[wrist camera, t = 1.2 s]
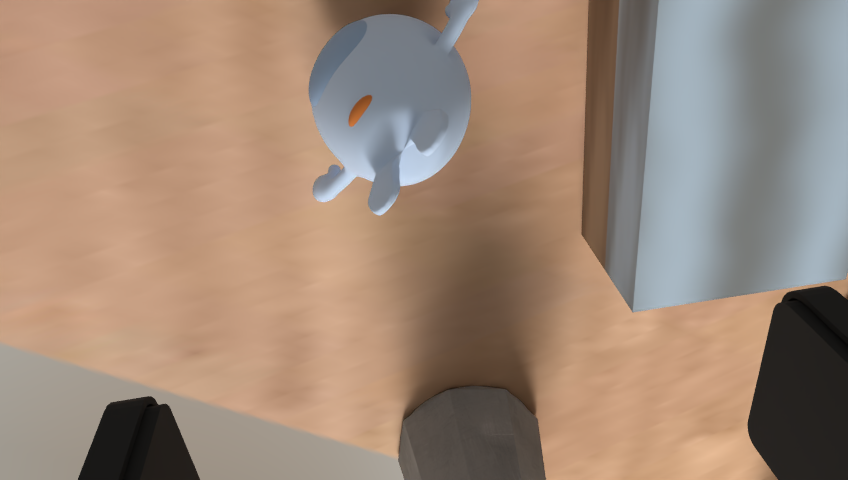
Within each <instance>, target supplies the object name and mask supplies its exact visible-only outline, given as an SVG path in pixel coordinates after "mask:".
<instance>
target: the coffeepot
mask: <svg viewBox="0 0 848 480" xmlns="http://www.w3.org/2000/svg"><path fill="white" fill-rule="evenodd" d="M400 438H401V443H400V451H399V459H398V461H399V464H400V467H401V470H402V473H403V476H404V480H546V477H545V470H544V463H543V455H542V448H541V441H540V434H539V427H538V419H537V418H536V417H535V416H534V415H533V414H532V413H531V412H530V411H529V410H528V409H527V408H526V407H525V405H524V404H523V403H522V402H521V401H520V400H519V399H517V398H516V397H515V396H513V395H512V394H510V393H509V392H508V391H507V390H506V389H501V388H494V387H485V386H468V387H460V388H456V389H449V390H446V391H444V392H442V393H440V394H437V395H436V396H434V397H432V398H430V399H429V400H427V401H425V402H424V403H423V404H421V405H420V406H419V407H418V408H417V409H415V411H414V412H413V413H412V414H411V415H410V416H409V417H407V418H406V419H405V420H403V427H402V433H401V437H400Z"/></svg>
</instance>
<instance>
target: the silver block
mask: <svg viewBox="0 0 848 480" xmlns="http://www.w3.org/2000/svg"><path fill="white" fill-rule="evenodd" d="M582 236H583V237H584V239H585V240H586V242H587V243H588V245H589V246H590V248H591V249H592V251H593V252H594V254H595V256H596V257H597V259H598V260H599V262H600V263H601V265H602V266H603V268H604V269H605V271H606V272H607V274H608V275H609V277H610V278H611V280H612V281H613V283H614V285H615V286H616V288H617V289H618V291H619V292H620V294H621V295H622V297H623V298H624V300H625V301H626V303H627V304H628V306H629V307H630V309H631V310H632V312H638V311H644V310H650V309H657V308H663V307H670V306H676V305H683V304H689V303H695V302H702V301H708V300H715V299H721V298H728V297H734V296H740V295H747V294H753V293H760V292H766V291H773V290H779V289H785V288H792V287H798V286H805V285H811V284H817V283H824V282H830V281H837V280H843V279H846V276H847V273H848V0H589V16H588V49H587V81H586V113H585V146H584V178H583V210H582Z"/></svg>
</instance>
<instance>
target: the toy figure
mask: <svg viewBox="0 0 848 480" xmlns="http://www.w3.org/2000/svg"><path fill="white" fill-rule="evenodd" d="M478 1H479V0H450V3H449V4H448V5H447V6H446V8H445V13H446V15H447V16H448V17H449V18H450V19H449V21H448V23H447V25H446V27H445V29H444V30H443V32H442V33H441V32H440V31H438V30H437V29H436V28H434V27H433V26H431V25H429V24H427V23H426V22H423V21H421V20H419V19H416V18H413V17H410V16H405V15H399V14H381V15H375V16H370V17H367V18H364V19H361V20H359V21H355V22H352V23H350V24H348V25H346V26H345V27H343V28H342V29H340V30H339V31H338V32H337V33H336V34H335V35H334V36H333V37H332V38H331V39H330V40H329V41H328V42H327V44H326V45H325V46H324V48H323V49H322V51H321V53H320V54H319V56H318V58H317V60H316V62H315V64H314V67H313V70H312V73H311V77H310V82H309V98H310V102H311V104H312V111H313V115H314V119H315V122H316V125H317V128H318V130H319V132H320V135H321V136H322V138H323V140H324V142H325V143H326V145H327V146H328V148H329V149H330V150H331V152H332V153H333V154H334V155H335V156H336V157H337V158H338V159H339V161H340V162H341V163H342V164H343V165H344V168H343V169H342V170H341V169H340V167H339V166H337V165H331V166H330V167H329V170H328V173H327V174H325V175H322V176H320V177H318V178H317V179H316V181H315V182H314V185H313V195H314V197H315V199H316V200H318V201H320V202H326V201H330V200H332V199H333V198H335V197H336V196H337V195H338V193H339V192H341V191H342V190H343V189H344V188H345V187H346V186H347V185H348V184H349V183H350V182H351V181H352V180H353V179H354V178H355V177H357V176H358V177H362V178H365V179H367V180H370V181H372V182H373V185H372V188H371V192H370V196H369V200H368V205H369V207H370V209H371V211H372V212H373V213H375V214H377V215H382V214H384V213H385V212H386V211H387V210H388V209H389V208H390V207H391V206H392V204H393V203H394V202H395V200H396V198H397V196H398V194H399V191H400V186H407V185H412V184H416V183H419V182H421V181H424V180H426V179H428V178H429V177H431V176H433V175H434V174H435V173H437V172H438V171H439V170H440V169H442V168H443V167H444V166H445V165H446V164H447V163H448V161H449V160H450V159H451V158H452V156H453V155H454V154H455V152H456V150H457V149H458V147H459V145H460V143H461V141H462V139H463V137H464V134H465V131H466V128H467V125H468V121H469V116H470V110H471V88H470V82H469V77H468V74H467V70H466V68H465V65H464V63H463V61H462V59H461V57H460V55H459V53H458V52H457V50H456V49H455V47H454V44H455V42H456V41H457V39H458V37H459V35H460V34H461V32H462V30H463V28H464V26H465V24H466V22H467V20H468V19H469V17H470V16H471V15H472V14H473V13H474V11H475V9H476V7H477V4H478Z"/></svg>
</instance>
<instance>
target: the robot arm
mask: <svg viewBox="0 0 848 480" xmlns="http://www.w3.org/2000/svg"><path fill="white" fill-rule="evenodd" d="M748 433H749V436H750V439H751V441H752V443H753V445H754V447H755V448H756V450H757V451H758V452H759V454H760V455H761V456H762V458H763V459H764V461H765V462H766V463H767V465H768V466H769V468H770V469H771V470H772V472H773V473H774V474H775V476H776V477H777V479H778V480H848V300H847V299H846V298H844V297H843V296H842V295H841V294H840V293H839V292H837V291H836V290H835V289H833V288H831V287H828V286H821V287H815V288H808V289H802V290H796V291H791V292H788V293H787V294H786V295H785V296H784V297H783V300H782V302H781V303H778V304H777V305H776V306H775V308H774V310H773V314H772V319H771V323H770V327H769V332H768V336H767V340H766V345H765V349H764V353H763V358H762V362H761V367H760V371H759V375H758V380H757V384H756V388H755V393H754V397H753V401H752V406H751V410H750V415H749V419H748ZM78 480H200V478H199V476H198V474H197V471H196V469H195V466H194V464H193V461H192V459H191V457H190V454H189V452H188V450H187V447H186V445H185V443H184V440H183V438H182V435H181V433H180V430H179V428H178V426H177V423H176V421H175V418H174V416H173V414H172V411H171V409H170V407H169V406H168V405H167V404H161V405H158V404H157V402H156V400H155V399H154V398H153V397H149V396H148V397H142V398H136V399H130V400H124V401H117V402H112V403H110V404H109V405H107V407H106V409H105V411H104V413H103V416H102V418H101V421H100V424H99V426H98V429H97V431H96V434H95V436H94V439H93V442H92V444H91V447H90V449H89V452H88V455H87V457H86V460H85V463H84V465H83V468H82V470H81V473H80V475H79V478H78Z"/></svg>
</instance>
